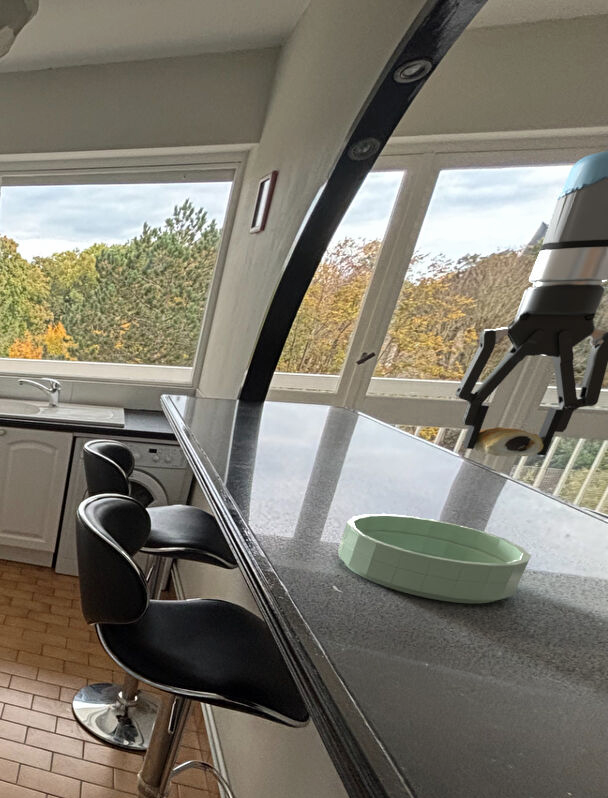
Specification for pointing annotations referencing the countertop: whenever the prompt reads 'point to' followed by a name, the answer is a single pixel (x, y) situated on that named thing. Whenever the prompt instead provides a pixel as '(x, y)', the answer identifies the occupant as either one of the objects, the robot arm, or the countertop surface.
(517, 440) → the pastry
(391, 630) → the countertop surface
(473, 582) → the bowl
